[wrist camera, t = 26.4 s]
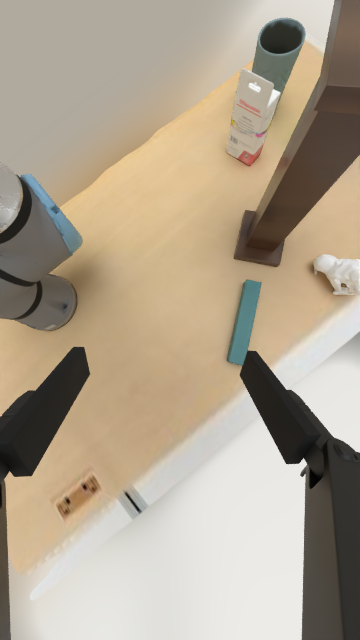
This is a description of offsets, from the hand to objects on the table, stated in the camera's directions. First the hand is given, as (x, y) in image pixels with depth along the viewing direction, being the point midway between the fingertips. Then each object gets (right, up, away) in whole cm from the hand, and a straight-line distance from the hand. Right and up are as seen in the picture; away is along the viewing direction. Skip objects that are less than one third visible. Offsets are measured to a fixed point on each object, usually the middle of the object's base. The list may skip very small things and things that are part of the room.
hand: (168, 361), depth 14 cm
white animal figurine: (+38, +14, +27) cm, 48 cm away
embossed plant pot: (+24, +65, +35) cm, 77 cm away
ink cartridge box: (+19, +51, +33) cm, 64 cm away
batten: (+16, +3, +27) cm, 32 cm away
